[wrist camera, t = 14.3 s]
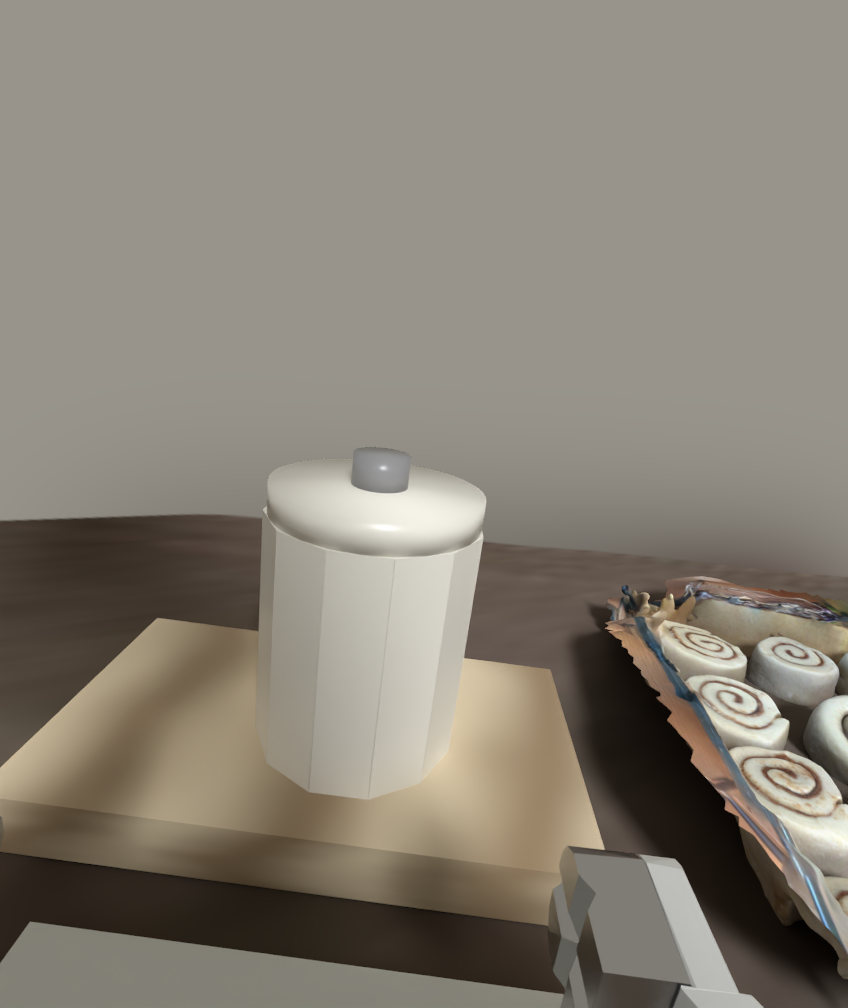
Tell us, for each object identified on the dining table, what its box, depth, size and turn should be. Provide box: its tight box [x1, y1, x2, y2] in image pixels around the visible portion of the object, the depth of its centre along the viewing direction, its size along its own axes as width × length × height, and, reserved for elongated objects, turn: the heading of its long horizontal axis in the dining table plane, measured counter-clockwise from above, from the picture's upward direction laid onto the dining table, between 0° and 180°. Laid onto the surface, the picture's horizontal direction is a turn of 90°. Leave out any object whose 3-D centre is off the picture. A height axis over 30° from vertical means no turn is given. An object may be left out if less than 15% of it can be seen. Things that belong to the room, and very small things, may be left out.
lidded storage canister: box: [255, 447, 486, 800], centre depth 18 cm, size 7×7×10 cm
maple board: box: [0, 618, 605, 926], centre depth 20 cm, size 18×10×2 cm, turn 87°
